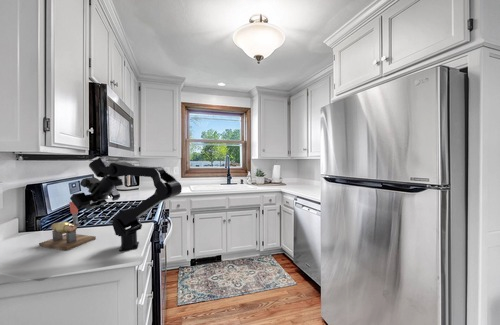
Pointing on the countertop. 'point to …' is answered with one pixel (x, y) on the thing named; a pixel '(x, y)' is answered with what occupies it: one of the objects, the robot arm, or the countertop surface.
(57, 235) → the valve body
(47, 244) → the mounting board
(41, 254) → the countertop surface
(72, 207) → the valve lever
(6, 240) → the countertop surface
